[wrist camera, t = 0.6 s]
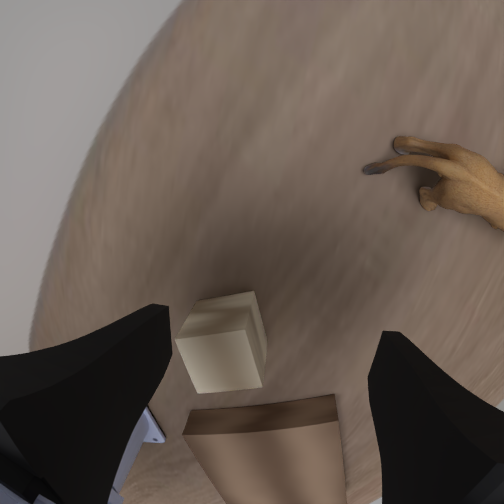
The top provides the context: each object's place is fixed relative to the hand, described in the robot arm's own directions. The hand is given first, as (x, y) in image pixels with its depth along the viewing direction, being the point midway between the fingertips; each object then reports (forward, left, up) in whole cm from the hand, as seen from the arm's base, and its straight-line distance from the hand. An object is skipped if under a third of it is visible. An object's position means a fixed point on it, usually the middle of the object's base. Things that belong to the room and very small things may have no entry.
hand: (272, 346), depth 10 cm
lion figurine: (+14, +2, -11) cm, 17 cm away
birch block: (-4, -4, -10) cm, 12 cm away
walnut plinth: (-4, -20, -10) cm, 23 cm away
